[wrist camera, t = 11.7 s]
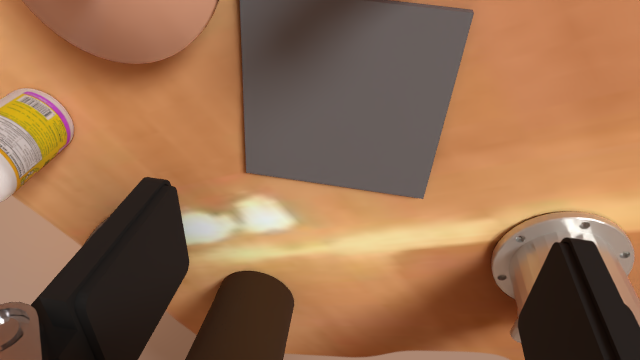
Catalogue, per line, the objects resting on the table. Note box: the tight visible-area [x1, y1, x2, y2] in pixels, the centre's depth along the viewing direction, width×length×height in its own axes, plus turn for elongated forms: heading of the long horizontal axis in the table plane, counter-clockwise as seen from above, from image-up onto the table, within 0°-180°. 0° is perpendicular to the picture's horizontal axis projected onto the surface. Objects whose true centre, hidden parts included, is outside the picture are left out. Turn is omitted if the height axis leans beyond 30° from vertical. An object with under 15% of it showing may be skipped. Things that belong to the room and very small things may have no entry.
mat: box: [240, 0, 474, 199], centre depth 37 cm, size 17×17×1 cm
